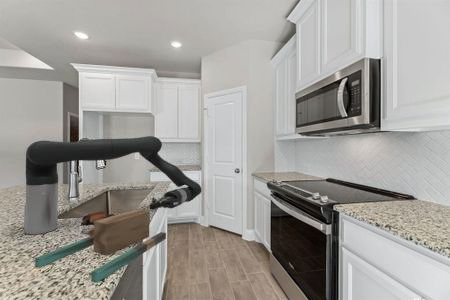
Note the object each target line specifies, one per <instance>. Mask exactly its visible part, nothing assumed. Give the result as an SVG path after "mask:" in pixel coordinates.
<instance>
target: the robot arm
mask: <svg viewBox="0 0 450 300" xmlns="http://www.w3.org/2000/svg"><path fill="white" fill-rule="evenodd" d="M162 143H163V142H162V141H161V140H160V138H158V137H156V136H153V135H152V136H141V137H133V138H131V137H130V138H97V139H95V138H94V139H87V140H81V141H56V140H54V141H52V140H38V141H35V142H33V143H31V144H30V145H29V146H28V147H27V148H26V151H25V205H24V209H23V210H24V212H23V213H24V215H23V216H24V217H23V232H24V234H27V235H38V234H39V235H40V234H45V233H49V232H52V231H54V230H57V229H58V204H59V203H58V202H59V200H58V199H59V198H58V197H59V175H58V164H61V163H68V162H77V161H88V162H89V161H90V162H91V161H92V162H93V161H109V160H117V159H119V158H123V157H126V156H128V155H132V154H136V153H139V155H140V156H141V157H142V158H143V159H145V160H146V161H147V162H149V163H150V164H151V165H153V166H154V167H156V168H157V169H158V170H160V171H161V172H162V173H163V174H164V175H165V176H166V177H167V178H168V179H169V180H170V181H171V182H172V183H173V184H174V185H175V186H176V187H177V188H176V189H172V190H168V191H165V193H164V194H163V196H161V197H158V198H156V197H152V198H151V203H150V204H149V210H157V209H161V208H163V209H167V208H168V209H175V208H176V207H179V206H181V205H183V204H184V203H189V202H191V201H193V200H194V199H195V198H196V197H198V196H199V195H200V194H201V193H202V192H203V191H202V187H201V184H200V183H198V182H197V181H195V180H193V179H191V178H190V177H188V176H187V175H186V174H185V173H184V172H183V171H182V170H181V169H180V168H179V167H178V166H176V165H174V164H172V163H170V162H168V160H165V159H164V158H163V157H161V156H160V154H159V152H160V151H161V149H162V147H163V144H162ZM183 186H186V187H183Z"/></svg>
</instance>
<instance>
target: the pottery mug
mask: <svg viewBox="0 0 450 300" xmlns="http://www.w3.org/2000/svg"><path fill="white" fill-rule="evenodd" d="M115 215H116V213H115V214H114V213H110V214H105V212H104V211H95V212H92V213H88V214H86V215H84V216H83V217H82V218H81V219H82V222H81V223H80V227H82V226H86V227H87V226H88V227H89V226H94V221H97V220H100V219H104V218H108V217H111V216H115ZM88 233H89V237H90V236H92V235H94V228H91V229H89V230H88Z"/></svg>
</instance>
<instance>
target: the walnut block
mask: <svg viewBox="0 0 450 300" xmlns="http://www.w3.org/2000/svg"><path fill="white" fill-rule="evenodd" d="M150 213H151V212H150V211H149V210H143V209H133V210H128V211H127V212H123V213H119V214H115V216H111V217H108V218H104V219H100V220H97V221H94V225H93V229H94V244H93V252H95V253H98V254H100V255H104V256H109V255H112V254H114V253H116V252H118V251H121V250H123V249H125V248H128V247H129V246H132V245H134V244H137V243H139V242H140V241H143V240H145V239H146V240H147V239H148V238H150V218H151V217H150Z"/></svg>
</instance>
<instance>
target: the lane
mask: <svg viewBox="0 0 450 300" xmlns="http://www.w3.org/2000/svg"><path fill="white" fill-rule="evenodd" d="M166 239H167V232H163V231H160V232H159V233H157V234H156V235H154V236H152V237H149V239H148V238H147V239H146V240H145V241H143V242H141V243H139V244H138V245H136V246H134V247H132V248H131V249H129V250H127V251H126V252H124V253H122V254H120V255H118V256H117V257H115V258H113V259H111V260H109V261H107V262H106V263H104V264H103V265H100V266H98V267H97V268H95V269H93V270H92V271H90V272H91V273H90V274H91V275H90V278H91V279H90V281H93V282H96V283H100V281H102V280H104V279H105V278H106V277H109V275H112V274H113V273H114V272H116V271H117V270H120V268H122V267H124V266H125V265H127V264H129V263H130V262H132V261H134V260H135V259H137V258H138V257H140V256H142V255H143V254H145V253H146V252H148V251H149V250H150V249H152V248H154V247H155V246H157V245H158V244H160V243H161V242H163V241H165V240H166ZM92 245H94V235H92V236H90V235H89V236H88V237H85V238H82V239H80V240H77V241H75V242H73V243H70V244H67V245H65V246H63V247H60V248H57V249H55V250H53V251H50V252H47V253H45V254H42V255H39V256H37V257H35V258H34V267H38V268H42V267H45V266H47V265H50V264H51V263H54V262H57V261H58V260H61V259H63V258H65V257H67V256H69V255H72V254H74V253H76V252H79V251H81V250H83V249H85V248H87V247H89V246H92Z"/></svg>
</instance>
